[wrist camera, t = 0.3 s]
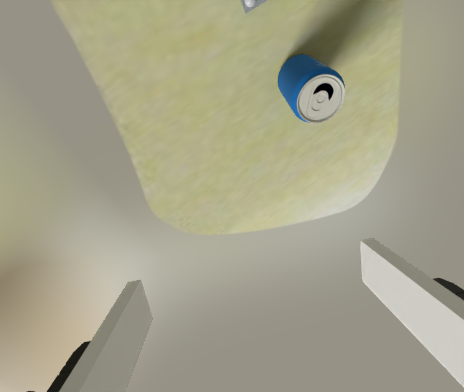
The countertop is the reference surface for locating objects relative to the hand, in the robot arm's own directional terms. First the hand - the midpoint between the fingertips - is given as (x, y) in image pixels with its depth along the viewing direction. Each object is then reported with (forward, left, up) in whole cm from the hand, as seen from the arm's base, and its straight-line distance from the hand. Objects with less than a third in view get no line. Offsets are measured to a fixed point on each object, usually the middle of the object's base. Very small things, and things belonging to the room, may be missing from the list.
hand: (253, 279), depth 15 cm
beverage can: (+1, +10, -34) cm, 35 cm away
